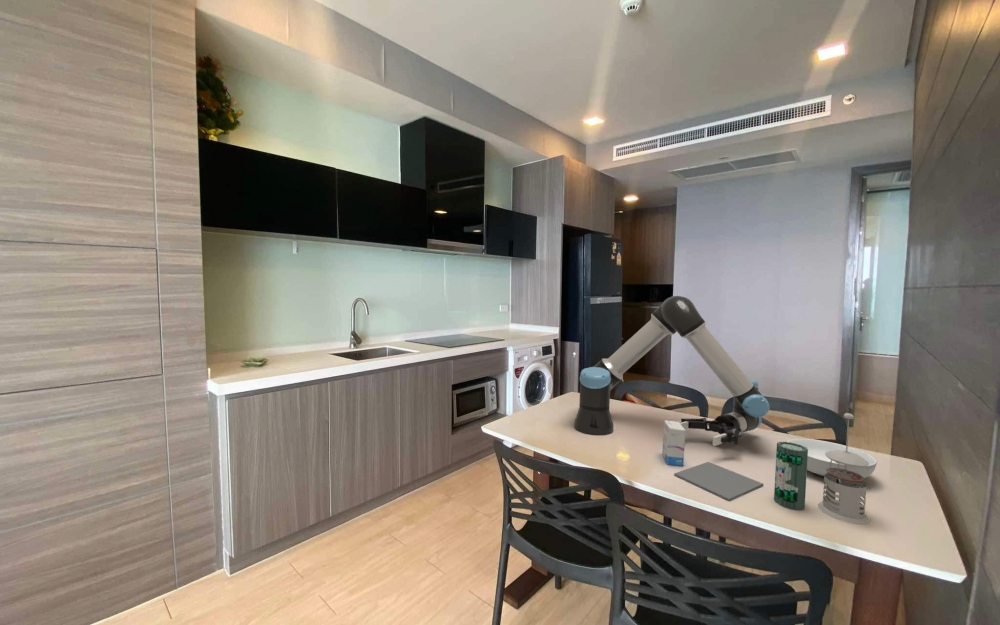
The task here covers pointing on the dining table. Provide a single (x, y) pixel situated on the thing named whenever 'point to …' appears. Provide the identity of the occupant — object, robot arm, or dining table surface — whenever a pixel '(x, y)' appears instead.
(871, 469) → the serving bowl
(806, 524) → the dining table surface
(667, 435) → the ink box
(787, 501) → the can
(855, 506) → the french press
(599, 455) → the dining table surface
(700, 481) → the rubber mat
